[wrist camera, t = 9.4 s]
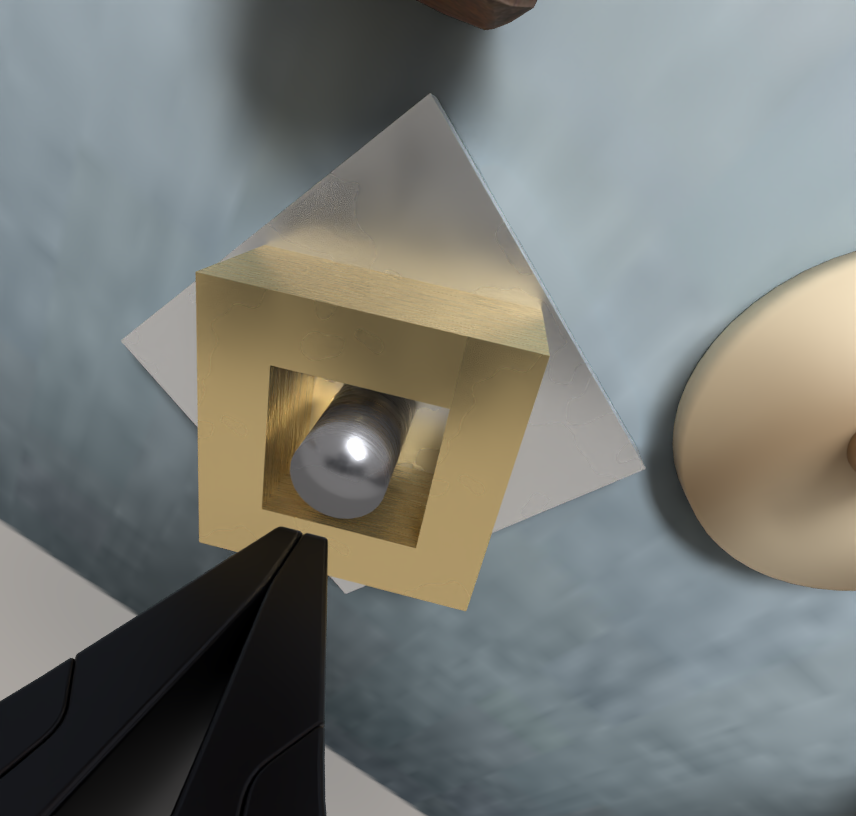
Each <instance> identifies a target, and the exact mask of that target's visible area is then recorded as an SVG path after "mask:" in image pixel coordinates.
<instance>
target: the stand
mask: <svg viewBox="0 0 856 816" xmlns="http://www.w3.org/2000/svg"><path fill="white" fill-rule="evenodd" d="M672 444H673V456H674V464H675V468H676V471H677V475H678V479H679V481H680V484H681V486H682V488H683V490H684V493H685V495H686V497H687V499H688V501H689V503H690V505H691V507H692V509H693V511H694V513H695V515H696V517H697V519H698V520H699V522H700V523H701V525H702V526H703V528H704V529H705V531H706V532H707V534H708V535H709V536H710V537H711V538H712V539H713V540H714V541H715V542H716V543H717V544H718V545H719V546H720V547H721V548H722V549H723V550H725V551H726V552H727V553H728V554H730V555H731V556H732V557H733V558H735V559H736V560H738V561H740V562H741V563H743V564H745V565H746V566H748V567H750V568H751V569H753V570H756V571H758V572H760V573H763V574H765V575H767V576H769V577H772V578H775V579H778V580H782V581H785V582H788V583H791V584H796V585H801V586H806V587H811V588H818V589H828V590H839V591H856V251H855V252H852V253H848V254H845V255H842V256H839V257H836V258H833V259H831V260H829V261H826V262H824V263H822V264H820V265H817V266H815V267H813V268H810V269H808V270H806V271H804V272H802V273H800V274H799V275H797V276H795V277H793V278H791V279H790V280H788V281H786V282H784V283H783V284H781V285H779V286H777V287H776V288H774V289H773V290H772V291H770V292H769V293H767V294H766V295H765V296H763V297H762V298H760V299H759V300H757V301H756V302H755V303H753V304H752V305H751V306H750V307H749V308H747V309H746V310H745V311H744V312H743V313H742V314H741V315H739V316H738V317H737V318H736V319H735V320H734V321H733V322H731V323H730V325H729V326H728V327H727V328H726V329H725V330H724V331H723V332H722V333H721V334H720V335H719V336H718V338H717V339H716V340H715V341H714V342H713V343H712V345H711V346H710V347H709V349H708V350H707V351H706V353H705V354H704V356H703V357H702V358H701V360H700V361H699V362H698V364H697V366H696V368H695V369H694V371H693V373H692V375H691V377H690V378H689V380H688V382H687V384H686V387H685V389H684V392H683V394H682V397H681V399H680V402H679V405H678V409H677V413H676V418H675V422H674V430H673V443H672Z"/></svg>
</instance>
